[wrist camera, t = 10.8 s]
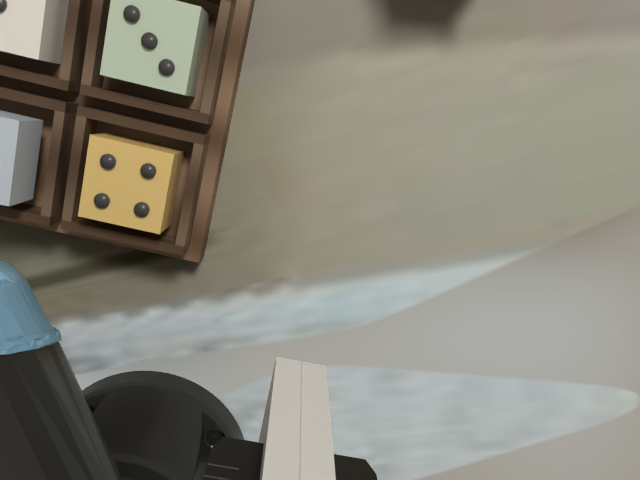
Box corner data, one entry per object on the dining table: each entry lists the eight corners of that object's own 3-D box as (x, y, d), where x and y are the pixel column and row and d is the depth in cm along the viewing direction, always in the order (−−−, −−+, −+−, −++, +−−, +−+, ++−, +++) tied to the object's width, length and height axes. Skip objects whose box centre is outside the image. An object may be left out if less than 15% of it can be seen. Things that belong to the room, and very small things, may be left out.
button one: (60, 64, 35) (36, 59, 32) (-22, 44, 35) (-54, 37, 32) (71, -20, 34) (48, -33, 31) (-13, -41, 34) (-45, -57, 31)
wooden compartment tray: (203, 255, 40) (193, 271, 36) (-54, 199, 39) (-94, 208, 35) (256, -6, 37) (250, -21, 33) (-27, -79, 35) (-68, -103, 31)
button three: (194, 96, 36) (184, 95, 33) (116, 77, 36) (98, 74, 32) (209, 15, 35) (200, 6, 32) (129, -5, 34) (111, -17, 31)
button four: (170, 224, 38) (158, 235, 34) (95, 207, 37) (76, 216, 34) (184, 150, 36) (173, 154, 33) (107, 132, 36) (88, 134, 33)
